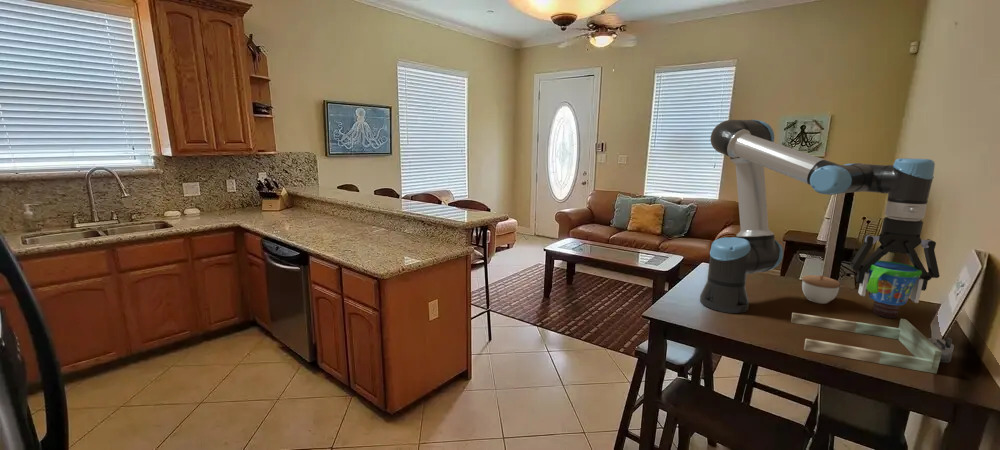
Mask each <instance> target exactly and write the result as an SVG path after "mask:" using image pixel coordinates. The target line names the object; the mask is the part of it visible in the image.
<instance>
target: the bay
mask: <svg viewBox="0 0 1000 450" xmlns="http://www.w3.org/2000/svg"><path fill="white" fill-rule="evenodd" d="M790 322H791V324H798V325H805V326H809V327H811V326H812V327H816V328H817V327H818V328H824V329H830V330H836V331H844V332H849V333H856V334H862V335H868V336H875V337H880V338H887V339H895V340H898V341H899V342H900V343H901V344H902V345H903V346H904V347H905V348H906V349H907V351H909V352H910V354H911V355H907V354H906V355H905V354H900V353H893V352H889V351H882V350H876V349H870V348H865V347H859V346H858V347H857V346H852V345H846V344H841V343H835V342H829V341H823V340H817V339H811V338H804V339H805V340H804V346H803V349H804V351H806V352H807V351H808V352H813V353H819V354H825V355H829V356H834V357H841V358H846V359H851V360H852V359H853V360H858V361H863V362H869V363H874V364H881V365H886V366H891V367H897V368H902V369H907V370H914V371H919V372H926V373H930V374H937V373H938V370H939V365H940V363H941V362H940V358H941V354H942V351H940V350H939V349H938V348H937V347H936V346H935V345H934V344H933V343H932V342H931V341H929V340H928V338H927V337H926V336H925V335H924V334H923V333H922V332H920V331H919V329H917V328H916V327H915V326H914V325H913V324H912V323H910V321H908V320H907V319H905V318H900V320H899V324H898V327H894V326H893V327H892V326H886V325H881V324H880V325H879V324H873V323H867V322H866V323H865V322H861V321H858V322H857V321H853V320H852V321H851V320H845V319H838V318H831V317H826V316H819V315H812V314H806V313H799V312H792V313H791V319H790ZM912 355H913V356H912Z"/></svg>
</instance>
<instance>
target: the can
mask: <svg viewBox="0 0 1000 450" xmlns="http://www.w3.org/2000/svg"><path fill="white" fill-rule="evenodd" d="M900 306H901V305H899V306H896V305H888V304H884V303H879V302H877V301H875V300H873V307H872V313H873V315H876V316H877V317H881V318H885V319H896V318H897V317H898V314H899V309H900Z"/></svg>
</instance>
